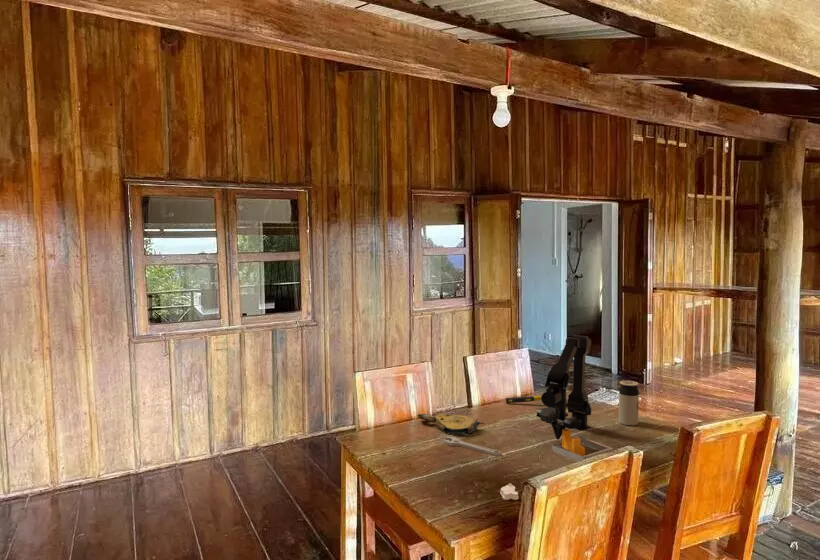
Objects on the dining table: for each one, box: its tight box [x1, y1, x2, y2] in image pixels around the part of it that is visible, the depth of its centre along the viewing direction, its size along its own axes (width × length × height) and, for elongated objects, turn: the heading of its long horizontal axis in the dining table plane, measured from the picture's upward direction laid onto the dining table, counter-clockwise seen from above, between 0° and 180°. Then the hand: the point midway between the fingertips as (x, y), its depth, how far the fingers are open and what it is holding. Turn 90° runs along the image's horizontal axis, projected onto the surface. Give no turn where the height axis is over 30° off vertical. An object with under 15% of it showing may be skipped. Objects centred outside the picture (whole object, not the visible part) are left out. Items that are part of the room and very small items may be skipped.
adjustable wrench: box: [443, 436, 501, 457], centre depth 210 cm, size 25×6×2 cm, turn 48°
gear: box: [500, 482, 520, 501], centre depth 172 cm, size 9×9×2 cm
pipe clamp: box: [561, 428, 586, 456], centre depth 206 cm, size 12×4×6 cm, turn 4°
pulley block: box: [417, 413, 486, 437], centre depth 234 cm, size 14×6×30 cm
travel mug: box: [618, 380, 640, 426], centre depth 238 cm, size 8×8×18 cm
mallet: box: [505, 395, 568, 405], centre depth 266 cm, size 29×6×10 cm, turn 80°
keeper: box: [551, 436, 614, 462], centre depth 205 cm, size 16×15×2 cm
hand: (557, 439), depth 215 cm, fingers closed
